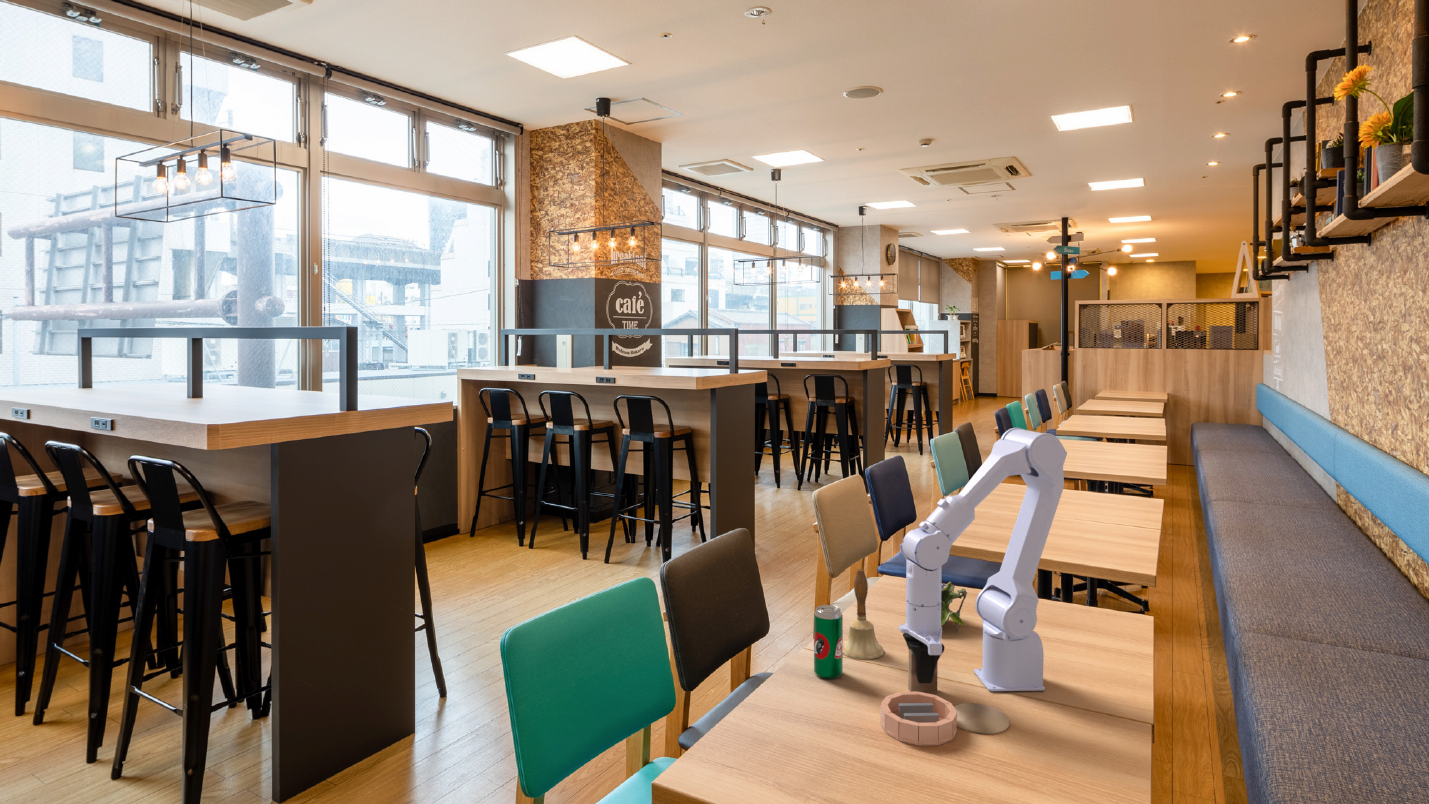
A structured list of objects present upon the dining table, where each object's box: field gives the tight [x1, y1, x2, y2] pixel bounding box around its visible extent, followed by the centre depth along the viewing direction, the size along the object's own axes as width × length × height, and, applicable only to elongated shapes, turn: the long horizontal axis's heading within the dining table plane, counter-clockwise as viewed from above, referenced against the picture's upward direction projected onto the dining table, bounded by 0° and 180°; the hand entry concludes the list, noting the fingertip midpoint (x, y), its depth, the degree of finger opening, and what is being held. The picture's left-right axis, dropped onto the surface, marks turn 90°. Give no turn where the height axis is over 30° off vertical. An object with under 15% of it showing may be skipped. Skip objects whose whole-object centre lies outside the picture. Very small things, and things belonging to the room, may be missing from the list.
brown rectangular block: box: [908, 649, 939, 694], centre depth 130 cm, size 4×2×7 cm, turn 90°
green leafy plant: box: [941, 581, 968, 632], centre depth 158 cm, size 11×11×12 cm
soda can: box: [813, 604, 844, 680], centre depth 136 cm, size 5×5×12 cm
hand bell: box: [843, 568, 885, 661], centre depth 146 cm, size 8×8×16 cm
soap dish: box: [880, 691, 958, 747], centre depth 118 cm, size 11×11×3 cm
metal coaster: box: [953, 702, 1010, 735], centre depth 120 cm, size 9×9×1 cm
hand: (922, 679), depth 130 cm, fingers closed on brown rectangular block, 2 cm apart
